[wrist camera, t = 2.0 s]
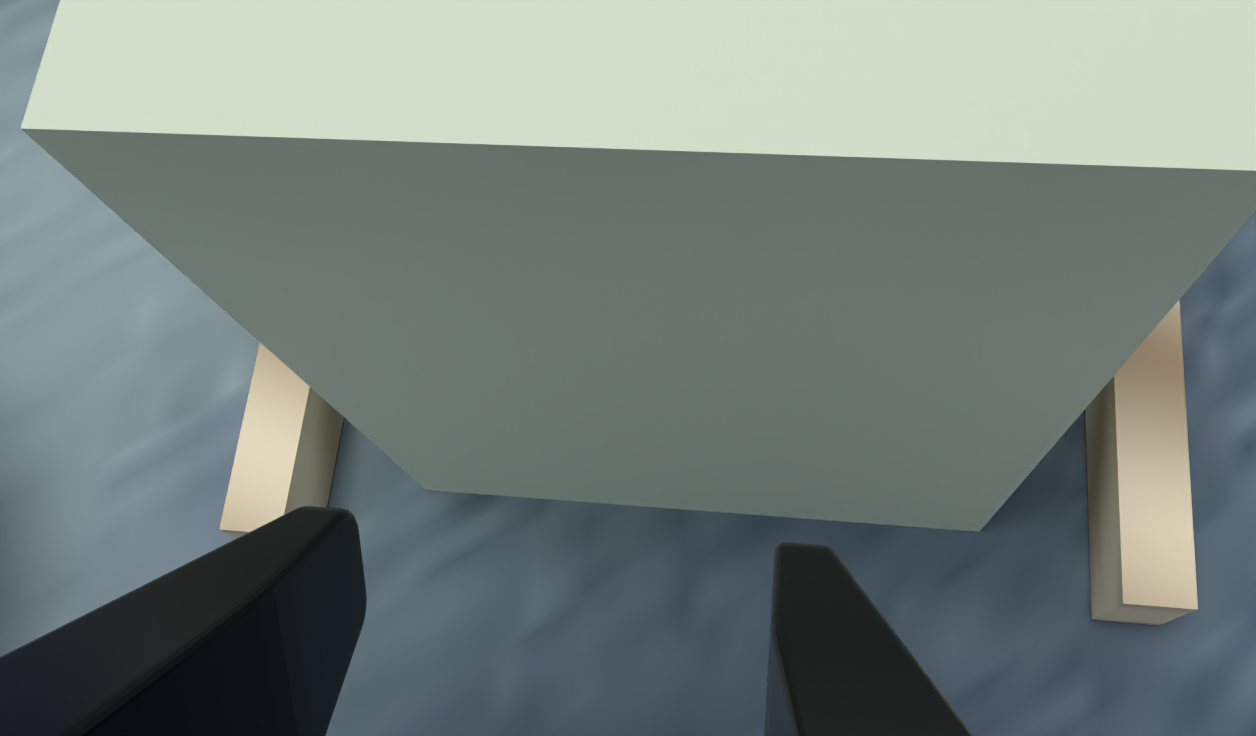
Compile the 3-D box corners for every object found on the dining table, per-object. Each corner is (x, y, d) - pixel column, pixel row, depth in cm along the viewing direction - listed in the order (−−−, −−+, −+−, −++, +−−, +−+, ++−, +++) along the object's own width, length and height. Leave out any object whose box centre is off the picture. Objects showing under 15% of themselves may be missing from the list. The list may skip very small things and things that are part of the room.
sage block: (979, 531, 22) (1288, 172, 9) (426, 490, 24) (20, 128, 11) (979, 84, 26) (1209, -648, 13) (493, 72, 27) (245, -597, 14)
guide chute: (1159, 624, 21) (1244, 590, 18) (261, 549, 24) (168, 505, 20) (1116, -257, 28) (1170, -416, 25) (425, -249, 31) (378, -393, 27)
